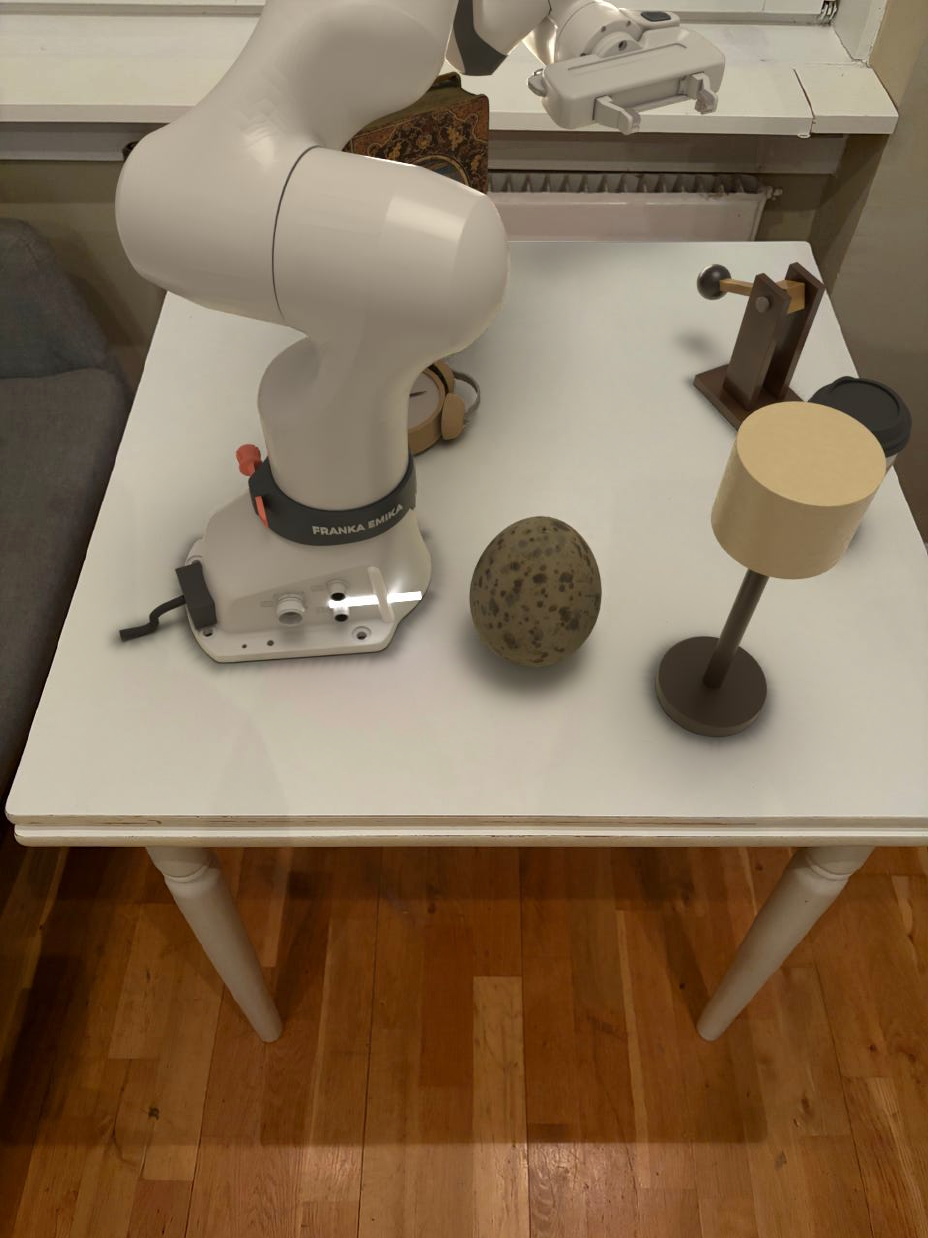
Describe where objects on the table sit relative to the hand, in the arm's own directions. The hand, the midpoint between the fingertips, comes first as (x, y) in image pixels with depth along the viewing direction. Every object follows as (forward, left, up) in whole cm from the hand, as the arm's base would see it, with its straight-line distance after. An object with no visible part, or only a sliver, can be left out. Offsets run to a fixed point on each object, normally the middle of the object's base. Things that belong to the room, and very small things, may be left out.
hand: (673, 116), depth 96 cm
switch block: (+4, -22, -20) cm, 30 cm away
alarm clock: (-32, -15, -20) cm, 41 cm away
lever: (+3, -17, -11) cm, 21 cm away
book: (-28, 0, -20) cm, 35 cm away
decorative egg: (-29, -45, -20) cm, 57 cm away
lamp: (-16, -54, -20) cm, 59 cm away
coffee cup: (+2, -39, -20) cm, 44 cm away
